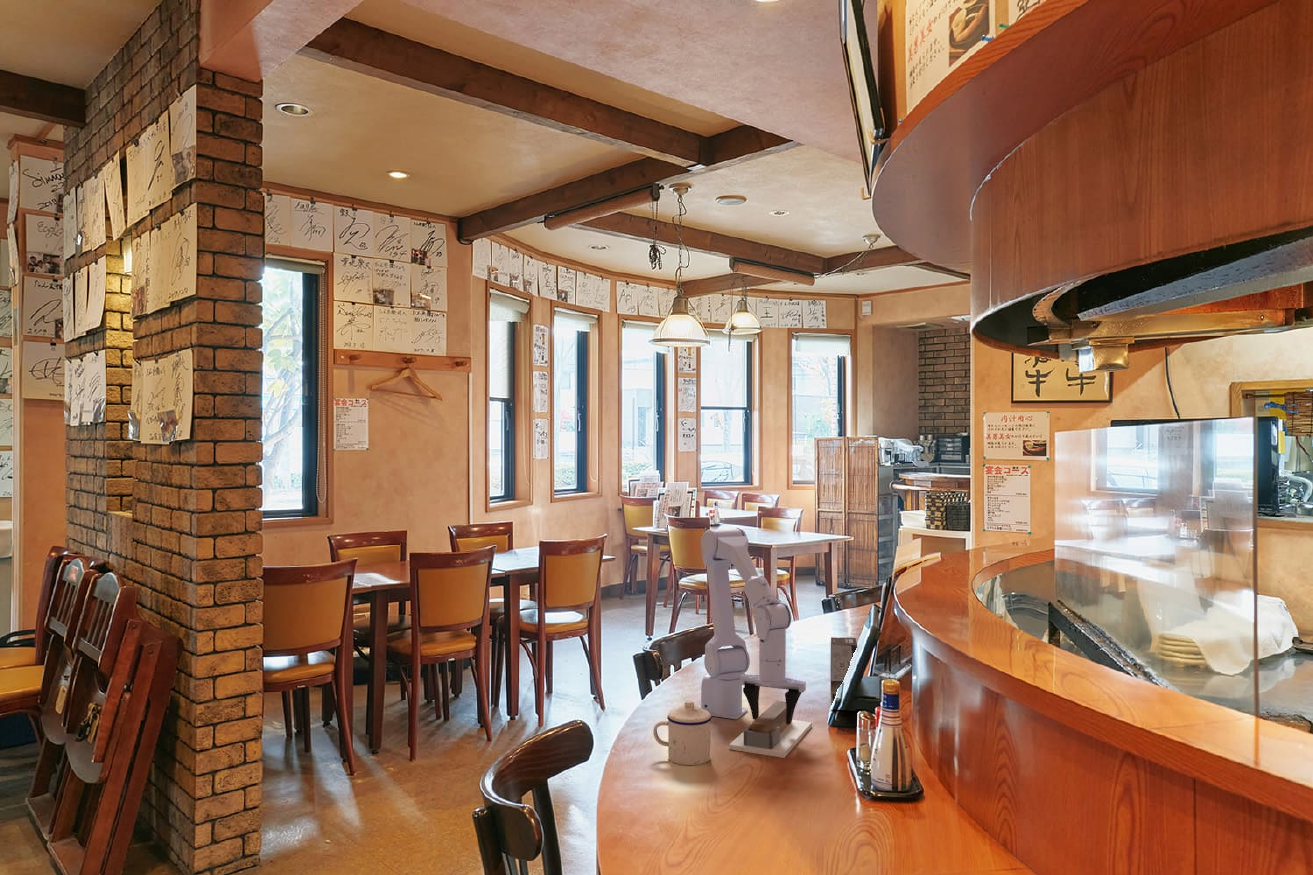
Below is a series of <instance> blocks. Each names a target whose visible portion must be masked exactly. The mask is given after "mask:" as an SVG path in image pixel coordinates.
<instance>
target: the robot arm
mask: <svg viewBox="0 0 1313 875" xmlns="http://www.w3.org/2000/svg"><path fill="white" fill-rule="evenodd" d="M700 546H701V555H702V556H701V558H702V564H704V565H705V566H706V572H707V580H708V590H709V599H710V608H711V616H712V626H713V636H712V637H711V639H709V640H708V641H707V642H706V644H705V645H704V658H703V660H704V661H703V664H704V669H705V670H706V672H707V673H706V674H704V676H703V678H702V681H701V686H700V692H701V693H700V708H701V709H704V710H706V711H708V712H709V713H710V714H711V717H718V718H723V719H724V718H726V719H733V720H738V719H739V718H741V717H742V716H743V715H744V714H745V713H746V712H748V708H747V707H743V695H744V696H745V698H746V699H747V702H748V705H749V708H750V711H751V712H750V713H751V717H752V720H753V721H754V720H756V719H757V718H758V717H759V716H760V710H759V709H760V708H759V707H760V704H759V702H760V701H759V700H760V689H761V687H763V688H764V687H765V688H771V689H778V690H787V691H786V692H785V693H784V698H785V702H786V724H790V723H791V722H792V720H793V717H794V713H795V709H796V706H797V703H798V701H799V698H800V697H801V695H802V693H804V692H806V687H807V686H806V682H807V681H803V680H797V679H794V678H789V677H786V662H787V660H786V656H787V655H786V651H787V650H786V648H787V646H786V632H787V629H789V628H790V626H791V624H792V614H791V610H790V608H789V606H788V604H787V603H786V602H782V600H781V599H778V598H777V596H776V595H775V593H774V591H773V589H772V587H771V586H770V583H769V582H768V580H767V578H765V577H763V576H759V573H758V571H757V569H756V567H755V565H754V562H753V560H752V558H751V555H750V553H749V550H748V549H749V539H748V536H747V534H746V532H745V530H744V529H743V528H741V527H736V528H724V529H723V528H721V529H711V528H710V529H706V530H705V531H704V533H703V534H702V536H701V540H700ZM731 565H733V566H734V568H735V570H736V571H737V573H738V575H739V576H740V578H741V579H742V580H743V582H744V586H743V591H744V593H745V596H746V598H747V600H748V601H749V604H750V605H751V608H752V609H753V611H754V615H753V621H754V624H755V625H754V626H755V627H756V636H757V638H758V639H759V644H758V645H759V646H758V647H759V651H758V652H759V655H758V657H759V661H758V662H759V664H758V665H759V666H758V667H759V669H758V670H759V671H758V672H759V673H758V674H746V673H747V672H748V670H749V668H750V663H751V658H750V654H749V652H748V649H747V646H746V644H747V643H746V641H745V640H744V638H742V637H740V636H739V635H738V634H737V633H736V632H737V631H736V626H735V625H736V624H735V616H734V608H733V598H732V592H731V591H732V590H731V589H732V588H731V581H730V573H729V568H730V566H731ZM723 647H727V648H723Z"/></svg>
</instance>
